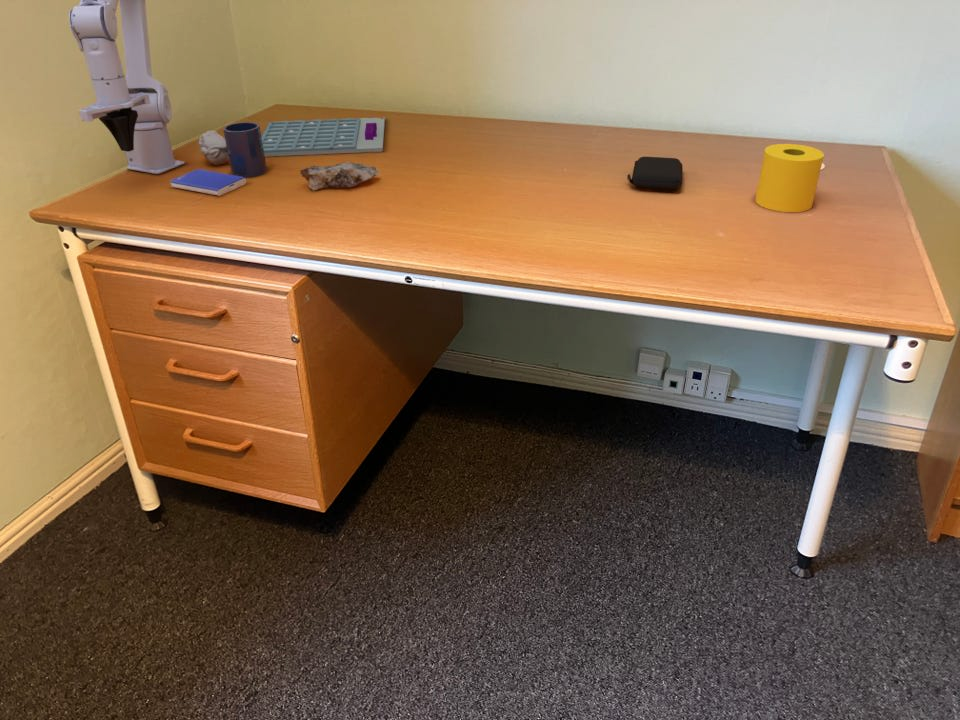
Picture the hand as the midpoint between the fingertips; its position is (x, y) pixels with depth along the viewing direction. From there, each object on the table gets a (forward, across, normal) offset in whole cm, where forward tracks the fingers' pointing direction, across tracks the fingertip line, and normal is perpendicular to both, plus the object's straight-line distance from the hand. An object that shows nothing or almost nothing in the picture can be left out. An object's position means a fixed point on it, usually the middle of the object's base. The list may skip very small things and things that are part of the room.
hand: (127, 150), depth 146 cm
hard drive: (+9, +8, -11) cm, 16 cm away
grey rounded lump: (+9, +20, -2) cm, 22 cm away
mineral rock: (+9, +20, -35) cm, 41 cm away
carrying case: (+9, +47, -92) cm, 104 cm away
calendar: (+9, +46, -12) cm, 48 cm away
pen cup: (+8, +18, -12) cm, 24 cm away
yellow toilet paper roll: (+9, +45, -117) cm, 126 cm away
